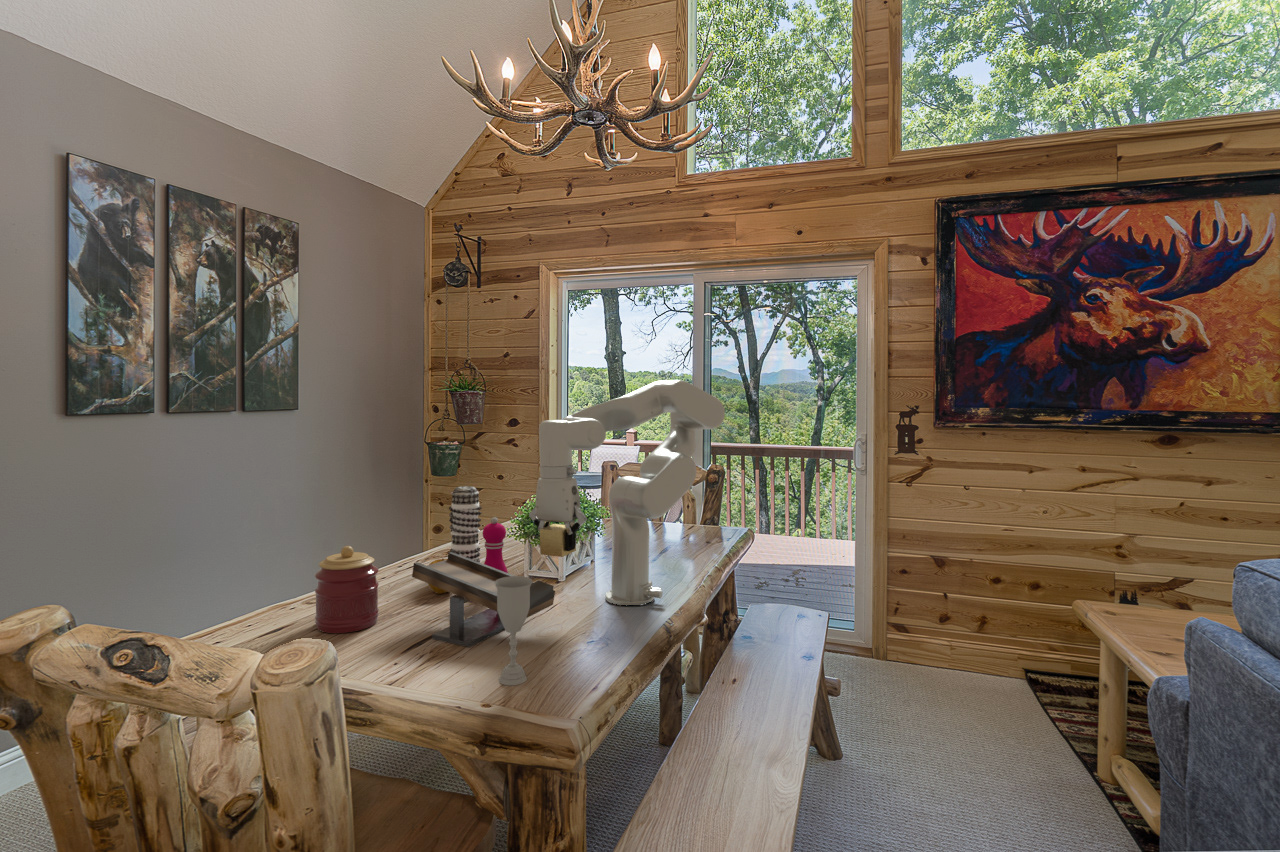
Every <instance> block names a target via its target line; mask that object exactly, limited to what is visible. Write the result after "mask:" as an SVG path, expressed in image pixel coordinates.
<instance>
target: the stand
mask: <svg viewBox="0 0 1280 852" xmlns="http://www.w3.org/2000/svg"><path fill="white" fill-rule="evenodd" d="M501 631H505V628H504V626H503V624H502V622H501V620H500V617H499V614H498V612H496V611H494V610H492V609H489V608H487V609H485V610H483V611H481V612H479V613H476V614H474V615H472V616H469V617H467V618H465V603H464V597H463V596H458V595H455V594H453V595H451V596H449V625H448V626H447V627H445V628H443V629H440V630H438V631H436V632H434V633H432V634H431V639H432V640H436V641H439V642H443V643H448V644H454V645H456V646H457V645H458V646H462V647H466V648H470V647H472V646H475V645H476V644H479V643H480V642H483V641H484V640H486V639H488V638H490V637H492V636H494V635H496V634H498V633H501Z"/></svg>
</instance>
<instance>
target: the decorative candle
mask: <svg viewBox="0 0 1280 852" xmlns="http://www.w3.org/2000/svg"><path fill="white" fill-rule="evenodd" d="M479 493H480V491H478V489H477V488H476V487H475V486H467V485H464V486H457V487H455V488H454V489H453V491H452V492H450V494H451V496H452V498H451V506H449V507H448V510H449V511H450V513H449V514H448V515H449V517H450V518H449V522H450V526H449V529H450V534H451V545H450V547H451V548H450V550H449V552H453V553H455V554H458V555H461V556H463V557H466V558H469V559H471V560H474V561H477V562H479V563H481V559H480V556H481V553H480V550H481V547H480V541H479V537H480V536H479V534H480V533H481V530H480V529H479V528H480V527H481V526H482V525H481V524H480V522H481V521H482V519H481V518H480V517H479V516H481V515H482V512H481V510H482V509H483V507H482V506H481V505H480V501H479V499H480V498H479V497H480V496H479Z"/></svg>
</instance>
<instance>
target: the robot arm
mask: <svg viewBox="0 0 1280 852" xmlns="http://www.w3.org/2000/svg"><path fill="white" fill-rule="evenodd" d="M665 413H666V414H667V413H669V416H670V417H669V418H670V419H669V420H670V428H669V429H670V430H669V433H668V435H667V437H666V438H665V439H664V440H663V441H661V443H660V444H659V445H657V446H656V448H654V450H652V452H650V453H649V454H648V455H647V456H646V457H645V459H644V460H643V461H642V463H641V465H640V467H639V475H640V477H638V476H632V475H625V476H621V477H619V478H617V479H616V480H615V481H614V482H613V483H612V484H611V487H610V489H609V492H608V500H609V501H608V502H609V506H610V507H609V508H610V514H611V522H612V524H611V525H612V526H611V527H612V530H611V531H612V532H611V533H612V534H611V535H612V538H611V589H610V590H608V591H606V593H605V594H604V595H605V600H606V601H607V602H609V603H610V604H612V603H613V605H616V604H617V606H621V605H626V606H625V607H628V606H627V605H640V606H642V605H641V604H645V603H648V602H651V601H652V600H653V599H654V600H655V598H656V599H662V597H663V590H662V588H660V587H654V586H653V581H652V580H649V579H650V577H649V575H650V571H649V570H650V568H649V567H650V566H649V565H650V525H649V522H648V520H656V519H660V518H661V517H663V516H664V515H665V514H666V513H667V514H668V512H669V511H670V510H671V508H673V507H674V506H675V505H676V503H677V502H679V501H680V500H681V498H682V497H684V495H685V494H687V492H688V491H689V490H690V489H691V488H692V487H693V485H694V482H695V480H696V478H697V465H696V463H695V462H696V461H694V459H693V458H692V457H693V456H694V454H695V451H696V445H697V443H696V442H697V441H696V432H695V431H696V429H697V430H715V429H716V428H718V427H720V426H721V425H722V424H723V422H724V420H725V416H726V410H725V407H724V405H723V403H722V401H720V400H719V399H718V398H717V397H716V396H714V395H712V394H710V393H708V392H707V391H705V390H703V389H701V388H699V387H698V386H696V385H694V384H693V383H690V382H688V381H686V380H682V379H670V380H667V379H663V380H656V381H654V382H651V383H648V384H647V385H644V386H642V387H640V388H638V389H636V390H633V391H632V392H629V393H626V394H624V395H622V396H620V397H617V398H613V399H609V400H607V401H603V402H600V403H597V404H594V405H591V406H588V407H585V408H582V409H581V410H578V411H576V412H573V413H572V414H570V415H567V416H565V417H564V418H563V417H562V419H547V420H542V421H541V422H540V423H539V426H538V435H539V436H538V437H539V438H538V440H539V442H538V444H539V445H538V446H539V476H540V478H538V479H537V485H536V490H535V491H536V492H535V507H533V509H532V510H531V511H530V512H529V514H528V516H529V518H530V519H531V520H532V521H533V524H534V525H535V526H536V528H537V530H538V531H539V532H540V529H541V528H544V527H547V526H549V525H551V522H557V523H563V525H565V527H566V530H567V533H568V534H566V536H565V539H566V551H571V550H573V549H575V546H576V547H577V543H576V542H577V537H576V536H577V535H576V533H577V532H578V531H579V530H580V528H581V527H582V526H583V525H584V524H585V523H586V522H587V520H588V518H587V516H586V515H585V513H584V512H583V511H582V509H581V498H580V491H579V485H578V482H577V478H575V477H573V476H574V475H577V472H578V471H577V468H574V466H573V450H587V451H589V450H594V449H597V448H599V447H601V446H602V444H604V442H605V440H606V437H607V432H612V431H613V432H614V431H615V432H617V431H626V430H629V429H634V428H636V427H639V426H640V425H642V424H644V423H646V422H649V421H651V420H653V419H654V418H657V417H659V416H661V415H664V414H665ZM576 520H577V521H576ZM654 600H653V601H654ZM653 601H652V602H653ZM652 602H651V603H652ZM645 605H646V604H645Z"/></svg>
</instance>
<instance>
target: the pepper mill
mask: <svg viewBox="0 0 1280 852" xmlns="http://www.w3.org/2000/svg"><path fill="white" fill-rule="evenodd" d="M506 536H507V529H506V527H505V526H504V524H502V523H499V519H498V517H491V519H490V523H488V524H486V525H485V526H484V527H483V530H482V537H483V539H484V548H485V553H486V554H485V558H484V559H485V560H484V562H483V564H485V565H487V566H490V567H493V568H495V569H498V570H501V571H503V572H506V573H509V572H508V567H507V566H506V563H505V560H504V558H503V548H504V547H505V541H504V539H505V537H506Z"/></svg>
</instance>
